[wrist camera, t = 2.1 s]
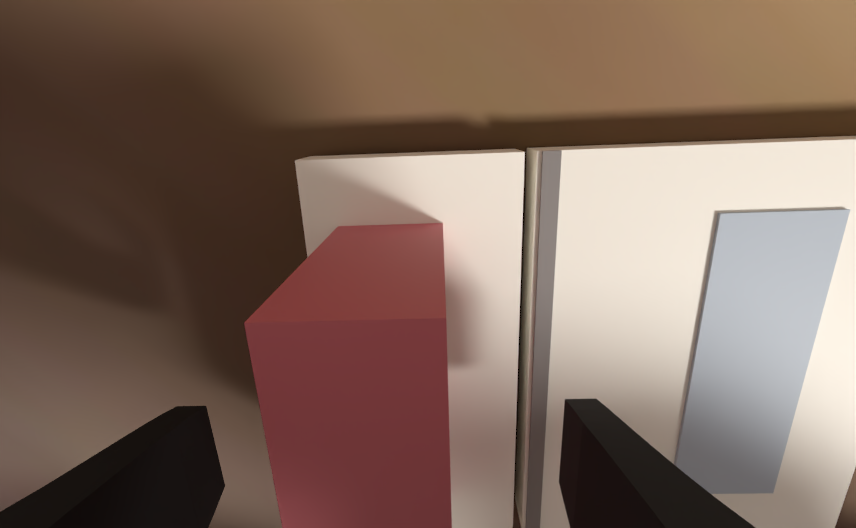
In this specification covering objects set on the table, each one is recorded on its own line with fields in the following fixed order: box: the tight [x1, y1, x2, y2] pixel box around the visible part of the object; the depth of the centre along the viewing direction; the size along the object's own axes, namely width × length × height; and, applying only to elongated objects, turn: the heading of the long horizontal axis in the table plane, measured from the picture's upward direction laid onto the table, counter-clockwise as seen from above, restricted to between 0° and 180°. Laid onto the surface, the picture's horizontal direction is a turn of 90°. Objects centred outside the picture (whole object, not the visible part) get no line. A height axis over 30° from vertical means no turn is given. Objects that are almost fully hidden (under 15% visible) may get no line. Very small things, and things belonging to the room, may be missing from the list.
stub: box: [244, 149, 525, 528], centre depth 9 cm, size 11×5×6 cm, turn 2°
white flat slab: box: [515, 136, 856, 528], centre depth 11 cm, size 11×9×1 cm
